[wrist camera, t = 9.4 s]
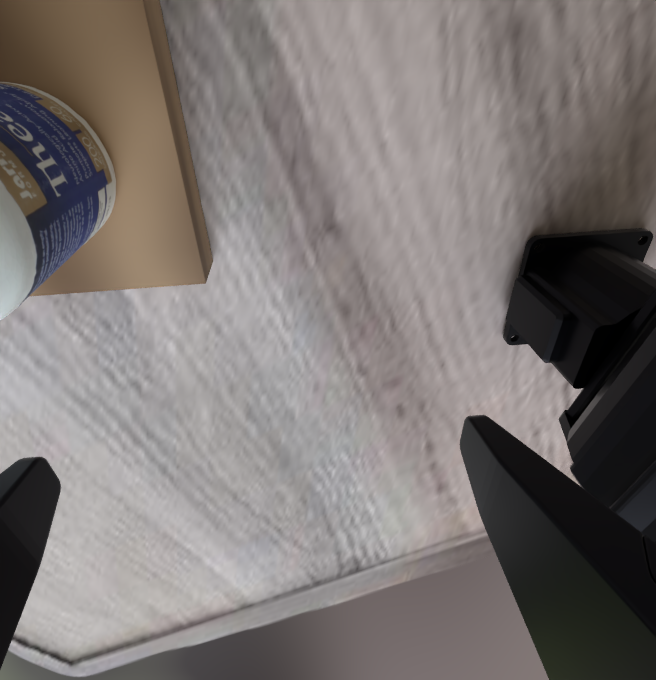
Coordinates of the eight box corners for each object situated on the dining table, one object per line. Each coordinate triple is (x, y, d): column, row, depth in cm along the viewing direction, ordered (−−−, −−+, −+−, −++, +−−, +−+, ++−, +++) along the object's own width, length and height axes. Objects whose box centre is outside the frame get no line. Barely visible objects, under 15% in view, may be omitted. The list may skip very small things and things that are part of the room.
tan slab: (157, -7, 14) (138, -18, 12) (212, 261, 20) (205, 283, 18) (-149, 2, 14) (-222, -7, 12) (-2, 276, 19) (-34, 300, 17)
